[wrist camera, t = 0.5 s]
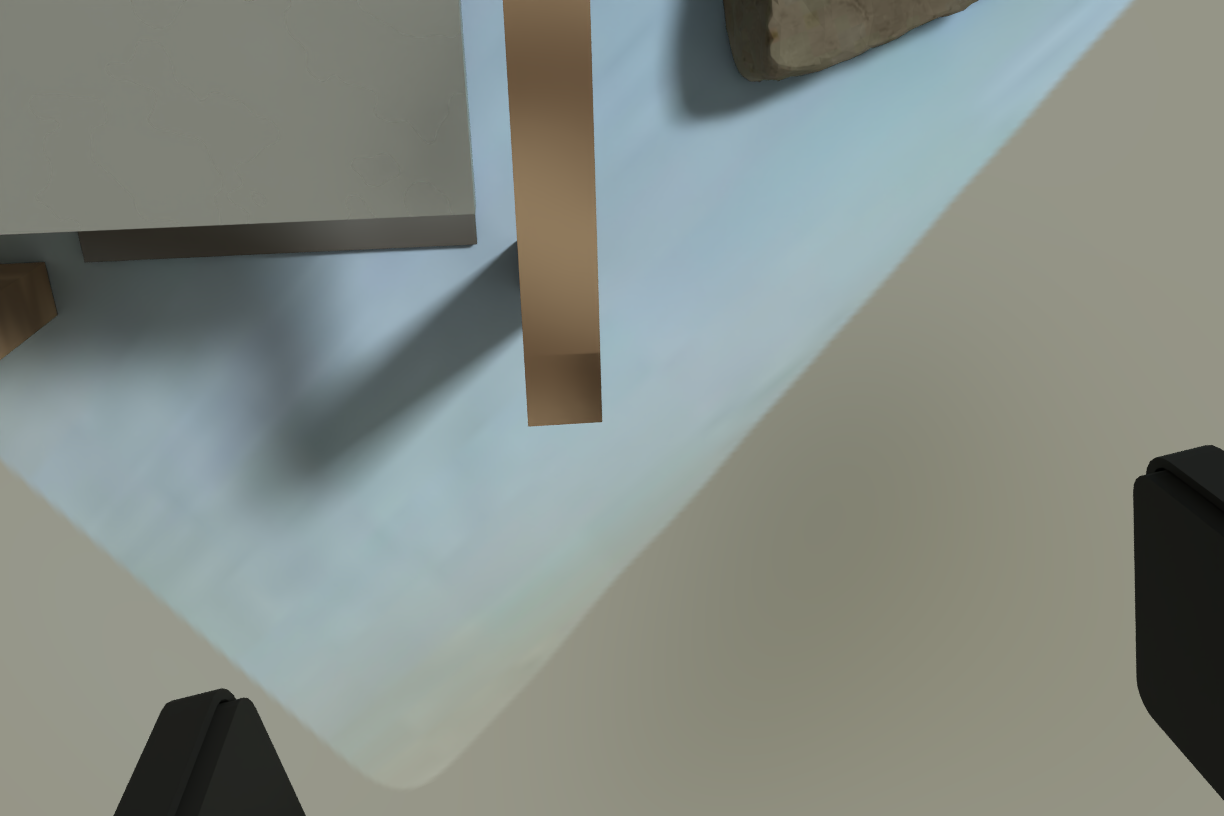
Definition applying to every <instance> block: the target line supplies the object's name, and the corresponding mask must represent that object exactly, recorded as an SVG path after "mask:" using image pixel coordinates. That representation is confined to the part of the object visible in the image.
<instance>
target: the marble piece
mask: <svg viewBox="0 0 1224 816" xmlns="http://www.w3.org/2000/svg"><path fill="white" fill-rule="evenodd" d="M976 1H978V0H723V3H724V10H725V21H726V30H727V33H728V37H729V42H730V46H731V50H732V54H733V58H734V61H735V64H736V66H737V69H738V71H739V73H740V74H741V75H742V76H743V77H744V78H746V79H747V80H749V81H752V82H756V81H758V82H761V81H762V80H777V81H780V80H782V79H785V78H788V77H792V76H801V75H805V74H809V73H813V72H818V71H821V70H823V69H826V68H828V67H830V66H833V65H835V64H838V63H840V62H843V61H846V60H849V59H851V58H853V57H856V56H858V55H860V54H862V53H864V52H865V51H867V50H868V49H870V48H874V47H877V46H880V45H883V44H886V43H888V42H890V41H892V40H895V39H897V38H899V37H900V36H902V35H904V34H905V33H907V32H908V31H910V30H911V29H913V28H916V27H918V26H921V25H923V24H925V23H927V22H929V21H932V20H934V19H936V18H938V17H944V16H949V15H952V14H955V13H957V12H960V11H963V10H965V9H966V8H967V7H968V6H970V5H971V4H972V3H974V2H976Z"/></svg>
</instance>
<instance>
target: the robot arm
mask: <svg viewBox="0 0 1224 816" xmlns="http://www.w3.org/2000/svg"><path fill="white" fill-rule="evenodd" d="M1133 501H1134V502H1133V505H1134V560H1135V618H1136V673H1137V686H1138V690H1139V693H1140V696H1141V699H1142V701H1143V703H1144V705H1145V707H1146V709H1147V711H1148V713H1149V714H1150V715H1151V717H1152V718H1153V719H1154V720H1155V721H1156V723H1157V724H1158V725H1159V726H1160V727H1161V728H1162V730H1163V731H1164V732H1165V733H1166V734H1167V735H1168V736H1169V738H1170V739H1171V740H1172V741H1173V742H1174V743H1175V745H1176V746H1177V747H1178V748H1179V749H1180V750H1181V752H1182V753H1183V754H1184V755H1185V756H1186V757H1187V759H1188V760H1189V761H1190V762H1191V763H1192V764H1193V765H1194V767H1195V768H1196V769H1197V770H1198V771H1199V772H1200V773H1201V775H1202V776H1203V777H1204V778H1205V779H1206V780H1207V782H1208V783H1209V784H1210V785H1211V786H1212V787H1213V789H1214V790H1215V791H1216V792H1217V793H1218V794H1219V795H1220V796H1221V798H1222V799H1223V800H1224V451H1223V450H1222V449H1220V448H1218V447H1215V446H1213V445H1205V446H1201V447H1197V448H1193V449H1189V450H1185V451H1181V452H1177V453H1173V454H1169V455H1164V456H1161V457H1156V458H1154V459H1153V460H1152V461H1150V463H1149V465H1148V467H1147V471H1146V475H1143V476H1140V477H1138V478H1137V479H1136V481H1135V483H1134V489H1133ZM114 816H306V815H305V813H304V811H303V809H302V807H301V804H300V803H299V800H298V798H297V796H296V794H295V792H294V789H293V787H292V785H291V783H290V781H289V778H288V776H287V774H286V772H285V770H284V768H283V766H282V764H281V761H280V759H279V757H278V755H277V753H276V750H275V748H274V746H273V744H272V742H271V740H270V738H269V735H268V733H267V731H266V729H265V727H264V725H263V723H262V720H261V718H260V716H259V714H258V712H257V710H256V708H255V706H254V704H253V703H252V702H251V700H249V699H248V698H240V699H236V698H235V697H234V695H233V694H232V693H231V692H230V691H229V690H227V689H217V690H214V691H209V692H205V693H201V694H197V695H194V696H190V697H185V698H181V699H177V700H173V701H171V702H169V703H167V704H166V705H165V706H164V708H163V709H162V711H161V713H160V715H159V717H158V719H157V722H156V724H155V726H154V728H153V730H152V732H151V735H150V737H149V739H148V741H147V743H146V746H145V748H144V750H143V753H142V754H141V757H140V759H139V761H138V763H137V765H136V768H135V770H134V772H133V774H132V777H131V779H130V781H129V783H128V785H127V787H126V790H125V792H124V794H123V796H122V798H121V801H120V803H119V805H118V807H117V810H116V811H115V814H114Z"/></svg>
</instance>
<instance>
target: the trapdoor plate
mask: <svg viewBox="0 0 1224 816" xmlns="http://www.w3.org/2000/svg"><path fill="white" fill-rule="evenodd" d="M475 210H476V199H475V186H474V172H473V159H472V146H471V132H470V119H469V105H468V92H467V79H466V65H465V52H464V39H463V25H462V12H461V0H0V235H6V234H28V233H51V232H74V231H97V230H120V229H143V228H166V227H188V226H211V225H234V224H257V223H280V222H303V221H325V220H348V219H371V218H394V217H417V216H440V215H463V214H475Z"/></svg>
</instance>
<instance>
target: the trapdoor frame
mask: <svg viewBox="0 0 1224 816" xmlns="http://www.w3.org/2000/svg"><path fill="white" fill-rule="evenodd" d="M503 11H504V28H505V45H506V61H507V78H508V95H509V112H510V128H511V145H512V162H513V178H514V195H515V212H516V229H517V245H518V262H519V279H520V296H521V312H522V329H523V346H524V363H525V379H526V396H527V413H528V426H544V425H561V424H577V423H594V422H602V401H601V366H600V331H599V297H598V262H597V227H596V192H595V158H594V123H593V88H592V53H591V19H590V0H503ZM78 235H79V240H80V244H81V248H82V253H83V257H84V262H103V261H125V260H146V259H168V258H190V257H211V256H233V255H255V254H276V253H298V252H320V251H341V250H363V249H385V248H406V247H428V246H450V245H471V244H477V235H476V222H475V214H463V215H440V216H417V217H394V218H371V219H348V220H325V221H303V222H280V223H257V224H234V225H211V226H188V227H166V228H143V229H120V230H97V231H78ZM56 316H57V311H56V306H55V302H54V298H53V294H52V290H51V286H50V282H49V278H48V274H47V270H46V266H45V262H37V263H15V264H0V360H1V359H2V358H4V357H5V356H6V355H7V354H9V353H10V352H11V351H13V350H14V349H15V348H16V347H18V346H19V345H20V344H21V343H23V342H24V341H25V340H27V339H28V338H29V337H30V336H32V335H33V334H34V333H35V332H37V331H38V330H39V329H41V328H42V327H43V326H44V325H46V324H47V323H48V322H49V321H51V320H52V319H53V318H55V317H56Z"/></svg>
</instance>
